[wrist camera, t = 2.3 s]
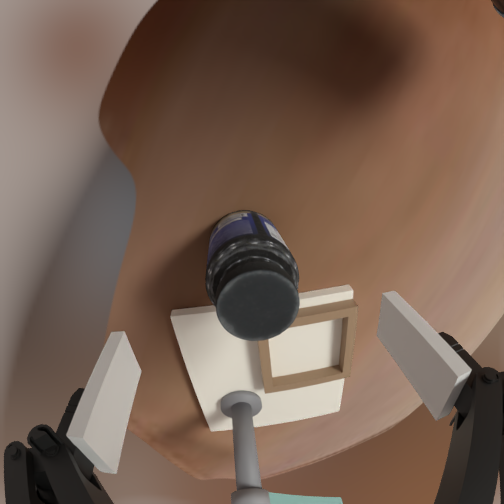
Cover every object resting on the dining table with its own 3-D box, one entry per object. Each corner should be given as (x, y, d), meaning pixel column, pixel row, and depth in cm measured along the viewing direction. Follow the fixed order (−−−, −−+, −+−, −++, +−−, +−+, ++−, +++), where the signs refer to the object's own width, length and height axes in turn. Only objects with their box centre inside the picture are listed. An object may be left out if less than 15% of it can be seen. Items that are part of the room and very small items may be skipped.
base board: (171, 309, 28) (145, 422, 15) (348, 284, 29) (417, 375, 16) (211, 424, 35) (212, 509, 22) (336, 404, 36) (366, 483, 23)
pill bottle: (206, 268, 27) (197, 346, 16) (214, 203, 24) (207, 249, 14) (271, 276, 27) (297, 353, 17) (284, 214, 25) (325, 264, 15)
